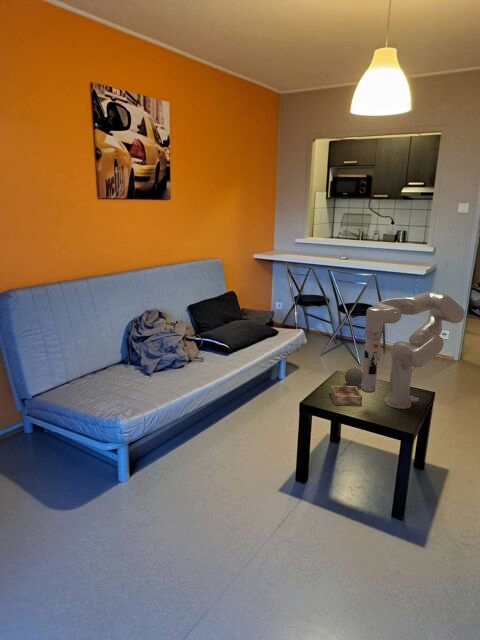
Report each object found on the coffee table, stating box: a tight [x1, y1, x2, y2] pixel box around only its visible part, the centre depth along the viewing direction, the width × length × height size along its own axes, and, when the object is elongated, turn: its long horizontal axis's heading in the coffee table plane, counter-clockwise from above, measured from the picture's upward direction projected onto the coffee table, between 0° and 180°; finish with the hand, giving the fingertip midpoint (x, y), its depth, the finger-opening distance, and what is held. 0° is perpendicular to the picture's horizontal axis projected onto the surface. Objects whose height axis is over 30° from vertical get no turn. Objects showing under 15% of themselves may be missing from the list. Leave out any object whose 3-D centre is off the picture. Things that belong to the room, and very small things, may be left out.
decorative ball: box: [344, 367, 363, 387], centre depth 241 cm, size 10×10×10 cm
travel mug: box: [360, 349, 379, 394], centre depth 208 cm, size 6×7×20 cm
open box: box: [329, 385, 363, 406], centre depth 224 cm, size 13×13×4 cm
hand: (370, 371), depth 208 cm, fingers closed on travel mug, 6 cm apart
